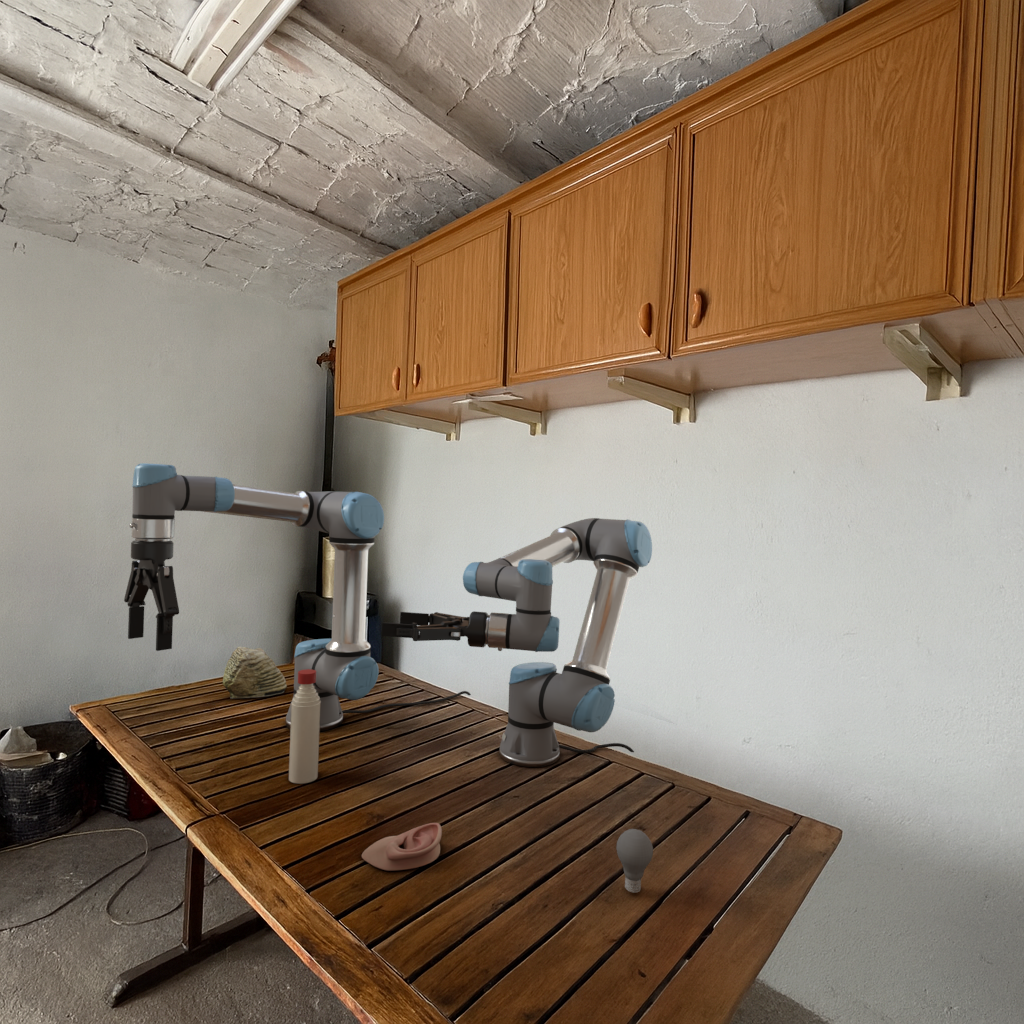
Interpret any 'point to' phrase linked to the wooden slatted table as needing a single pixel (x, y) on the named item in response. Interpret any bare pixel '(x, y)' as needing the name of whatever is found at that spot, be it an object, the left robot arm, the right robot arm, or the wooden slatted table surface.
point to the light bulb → (634, 857)
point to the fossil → (252, 674)
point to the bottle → (304, 735)
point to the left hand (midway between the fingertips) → (149, 643)
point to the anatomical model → (406, 849)
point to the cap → (307, 676)
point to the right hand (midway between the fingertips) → (391, 623)
